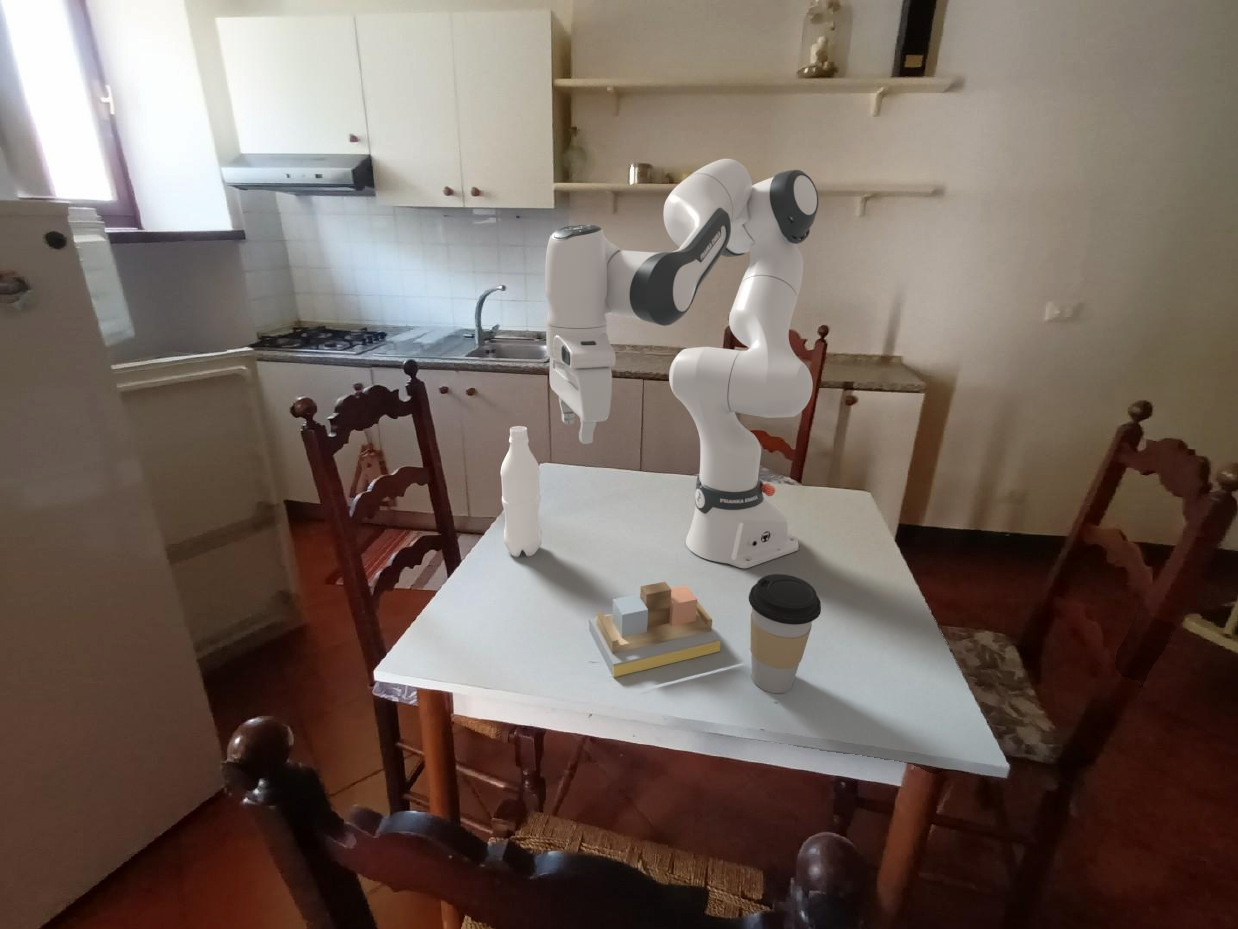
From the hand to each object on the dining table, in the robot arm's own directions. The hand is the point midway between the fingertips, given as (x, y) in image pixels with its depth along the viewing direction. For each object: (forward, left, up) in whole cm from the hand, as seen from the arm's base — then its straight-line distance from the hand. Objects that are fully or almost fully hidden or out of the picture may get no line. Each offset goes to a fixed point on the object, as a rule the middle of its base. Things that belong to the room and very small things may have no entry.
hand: (576, 432), depth 94 cm
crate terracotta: (-11, +17, -25) cm, 32 cm away
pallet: (-7, +17, -27) cm, 32 cm away
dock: (-7, +17, -29) cm, 34 cm away
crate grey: (-3, +17, -25) cm, 31 cm away
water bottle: (+6, -16, -29) cm, 34 cm away
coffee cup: (-20, +30, -29) cm, 46 cm away
